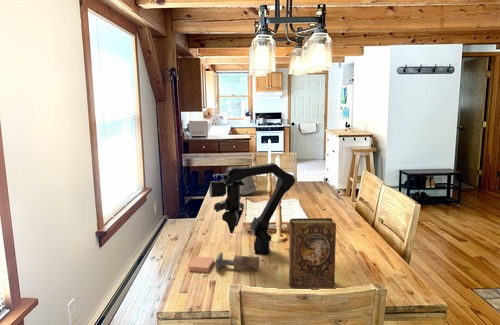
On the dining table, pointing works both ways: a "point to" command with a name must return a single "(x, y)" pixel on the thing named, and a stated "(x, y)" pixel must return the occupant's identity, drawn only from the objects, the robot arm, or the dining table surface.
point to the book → (312, 253)
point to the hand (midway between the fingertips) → (233, 229)
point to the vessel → (247, 185)
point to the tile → (201, 264)
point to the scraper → (239, 263)
